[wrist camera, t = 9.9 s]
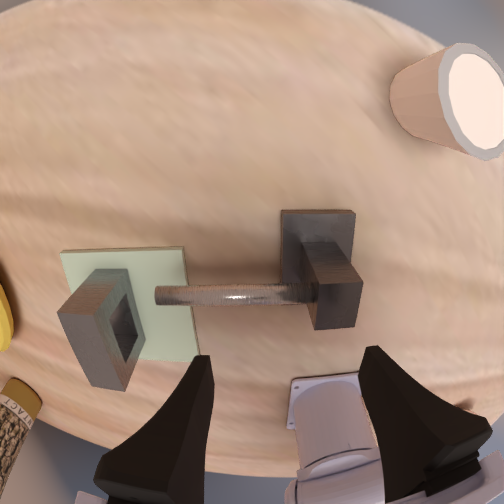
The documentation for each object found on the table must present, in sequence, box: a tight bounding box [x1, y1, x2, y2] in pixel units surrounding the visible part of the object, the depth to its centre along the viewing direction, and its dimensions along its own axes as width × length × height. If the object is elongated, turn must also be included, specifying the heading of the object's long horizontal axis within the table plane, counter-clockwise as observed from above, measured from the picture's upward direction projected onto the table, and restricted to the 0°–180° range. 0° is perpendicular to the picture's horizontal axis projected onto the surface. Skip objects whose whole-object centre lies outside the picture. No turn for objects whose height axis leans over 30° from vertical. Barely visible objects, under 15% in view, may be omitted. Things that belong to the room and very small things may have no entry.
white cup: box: [389, 43, 504, 161], centre depth 13 cm, size 7×7×7 cm
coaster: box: [59, 247, 200, 362], centre depth 23 cm, size 11×11×1 cm
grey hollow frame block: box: [57, 269, 146, 392], centre depth 19 cm, size 7×3×6 cm, turn 1°
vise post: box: [154, 210, 363, 330], centre depth 18 cm, size 7×13×7 cm, turn 91°
